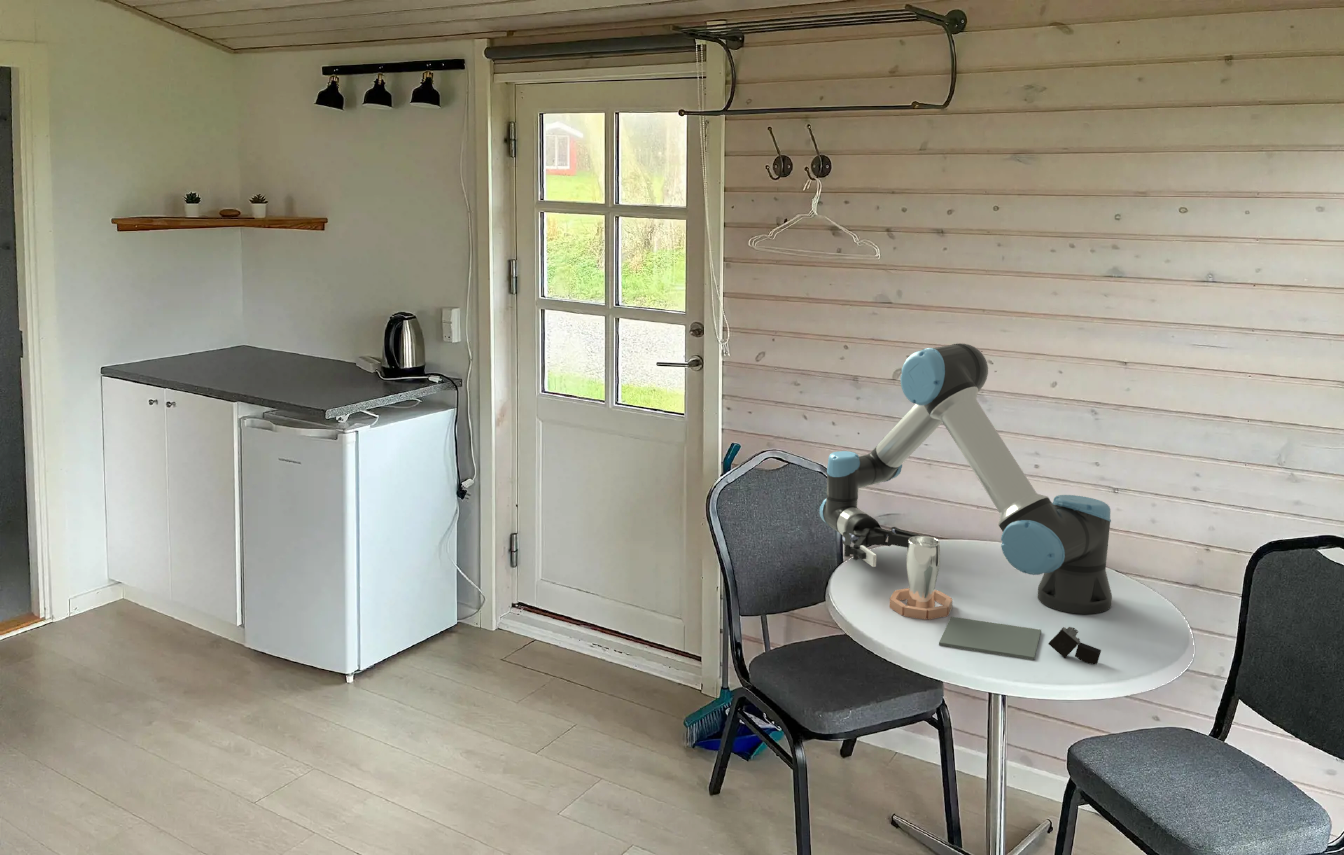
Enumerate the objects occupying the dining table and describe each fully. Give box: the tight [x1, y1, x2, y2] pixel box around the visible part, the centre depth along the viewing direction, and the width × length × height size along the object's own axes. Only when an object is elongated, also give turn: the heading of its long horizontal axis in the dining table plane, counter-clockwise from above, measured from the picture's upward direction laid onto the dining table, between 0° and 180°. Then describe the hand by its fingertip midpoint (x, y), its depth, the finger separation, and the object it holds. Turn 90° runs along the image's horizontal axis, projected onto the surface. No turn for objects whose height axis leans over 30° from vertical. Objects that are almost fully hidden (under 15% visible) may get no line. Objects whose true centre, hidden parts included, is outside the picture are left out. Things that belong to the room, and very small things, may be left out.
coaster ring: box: [889, 587, 953, 621], centre depth 245 cm, size 12×12×2 cm
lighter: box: [1047, 626, 1102, 665], centre depth 220 cm, size 9×2×6 cm
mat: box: [938, 616, 1042, 661], centre depth 229 cm, size 18×14×1 cm
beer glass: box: [905, 535, 941, 608], centre depth 243 cm, size 7×7×15 cm
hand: (902, 557), depth 251 cm, fingers open, 13 cm apart
